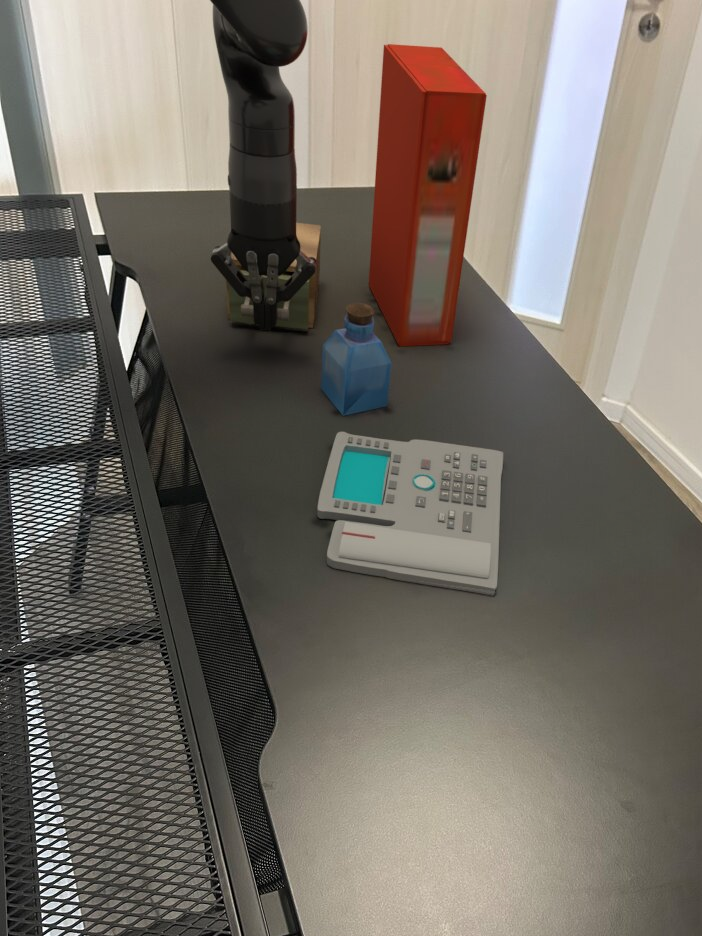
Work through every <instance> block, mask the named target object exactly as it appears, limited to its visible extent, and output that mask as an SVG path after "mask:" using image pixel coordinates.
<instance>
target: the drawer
mask: <svg viewBox="0 0 702 936" xmlns="http://www.w3.org/2000/svg"><path fill="white" fill-rule="evenodd" d="M236 266H237V265H236ZM237 267H238V268H239V270H240V271H241V272H242V273H243V275H244V276H245V277H246V278H247V280H248V281H249V273H248V272H247V271H246V270H245V269H244V268H243V267H242V266H237ZM287 272H288V274H289V275H290V276H287V275H280V276H279V282H278V287H280V286H283V285H284V284H285V282H286V281H287V280H288V279H289V278H290V277H291V276H292V275H293V274H294V273H295V272H290V271H287ZM309 282H310V279H309V280H308V281H307V282H306V283H305V284H304V285H303V286H302V287H301V288H300V289H299V291H298V292H297V293H296V294H295V295H294V296H293V297H292V298H291V299H290V300H289V301H287V302H285V301H279V302H278V303H277V315H278V318H277V323H276V325H275V327H282V328H291V329H301V330H308V329H309V328H308V325H309ZM263 284H264V296H266V291H267V276H265V275H263ZM228 287H229V308H230V319H229V321H230V322H235V323H242V324H243V323H245V324H254V325H255V323H254V313H253V301H252V300H251V299H250V298H249V297H246V296H245V297H241V296H239V295H238V294H237V292H236V291H235V290H234V289H233V288H232V286H231V285H230V284H229V283H228Z"/></svg>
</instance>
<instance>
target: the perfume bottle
mask: <svg viewBox="0 0 702 936" xmlns="http://www.w3.org/2000/svg"><path fill="white" fill-rule="evenodd" d="M374 311H375V310H374V309H373V307H372V306H370V305H368V304H366V303H361V302H357V303H356V302H354V303H350V304H348V305H347V306H346V313H347V314H346V315H345V316H344V328H339V329H335V330H334V331H333V332H332V334H331V335H330V336H329V337H328V339H327V340H326V341H325V342H324V343H323V344H322V353H321V354H322V355H321V356H322V357H321V360H322V361H321V379H320V380H321V382H320V383H321V384H320V390H321V392H323V394H325V396H326V397H327V398H328V400H329V401H330V402H331V403H332V405H333V406H334V407H335V408H336V410H338V411H339V413H340V414H341V416H342V417H343V416H348V415H349V416H350V415H353V414H358V413H362V412H367V411H372V410H377V409H381V408H385V407H388V401H389V392H390V381H391V373H392V372H391V371H392V361H391V359H390V357H389V355H388V353H387V351H386V348H385V347H384V344H383V343H382V340H380V339H379V338H378V337H377V336H376V334H375V333H374V332H373V331H374V327H375V319H374V317H373V315H374V313H375V312H374Z"/></svg>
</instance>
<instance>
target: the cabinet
mask: <svg viewBox="0 0 702 936" xmlns="http://www.w3.org/2000/svg"><path fill="white" fill-rule="evenodd" d="M296 235H297V239H298V241H299V242H300V250H301V251H302V252H303V253H304V254H305V255H306V256H308V257H314V258H315V259H316V261H317V263H316V269H315V273H314V275H313V276H312V277H311V278H310V282H309V325H308V329H309V328H310V329H314V324H315V317H316V310H317V301H318V294H319V287H320V274H321V273H320V271H321V269H320V268H321V243H322V242H321V241H322V239H321V238H322V237H321V236H322V225H321V224H313V223H312V224H311V223H303V222H296ZM232 255H233V257H234V259H233V262H234V263H235V264H236V265H237V266H242V265H241V264H240V263H239V261H238V260H237V259H236V257H235V256H234V254H233V253H232ZM296 263H297V261H296V259H295V261H294V262H293V263H292V264H291V265H290V266H289V268H288V269H287V270H286V271H290V272H296V270H295V266H296ZM225 285H226V286H225V287H226V307H227V308H226V310H227V319H228V320H230V308H229V287H228V281H227V280H226V279H225Z"/></svg>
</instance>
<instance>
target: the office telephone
mask: <svg viewBox="0 0 702 936" xmlns="http://www.w3.org/2000/svg"><path fill="white" fill-rule="evenodd" d="M503 466H504V451H500V450H496V449H490V448H484V447H477V446H476V447H475V446H468V445H462V444H455V443H447V442H440V441H435V440H426V439H418V438H417V439H410V440H409V441H400V440H393V439H384V438H377V437H371V436H364V435H357V434H351V433H347V432H346V431H338V432H337V433H336V435H335V438H334V441H333V444H332V448H331V451H330V454H329V458H328V461H327V466H326V469H325V473H324V477H323V479H322V484H321V487H320V491H319V497H318V501H317V509H316V510H317V513H316V517H317V518H319V519H321V520H325V519H326V520H335V522H334V524H333V528H332V531H331V533H330V534H331V535H330V539H329V543H328V547H327V551H326V564H327V566H329V567H331V568H332V569H335V570H341V571H347V572H351V573H357V574H363V575H368V576H375V577H383V578H386V579H391V580H394V581H395V580H396V581H402V582H407V583H415V584H421V585H427V586H433V587H439V588H446V589H452V590H456V591H457V590H458V591H464V592H470V593H476V594H482V595H488V596H492V597H493V596H494V595H495V594H496V592H495V593H494V594H492V593H486V592H481V591H475V590H469V589H462V588H456V587H450V586H444V585H437V584H431V583H438V584H446V585H454V586H462V587H470V588H475V589H483V590H490V591H495V590H496V591H497V588H498V574H499V550H500V521H501V520H500V519H501V491H502V490H501V489H502V488H501V487H502V484H501V483H502V474H503ZM412 580H415V581H412ZM419 581H424V582H419ZM425 582H431V583H425Z"/></svg>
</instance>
